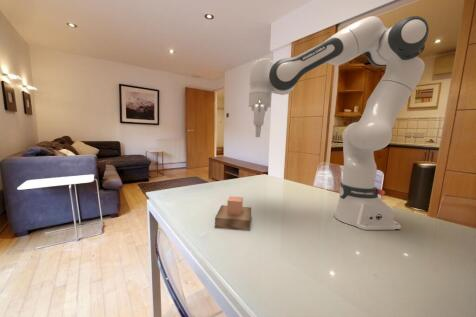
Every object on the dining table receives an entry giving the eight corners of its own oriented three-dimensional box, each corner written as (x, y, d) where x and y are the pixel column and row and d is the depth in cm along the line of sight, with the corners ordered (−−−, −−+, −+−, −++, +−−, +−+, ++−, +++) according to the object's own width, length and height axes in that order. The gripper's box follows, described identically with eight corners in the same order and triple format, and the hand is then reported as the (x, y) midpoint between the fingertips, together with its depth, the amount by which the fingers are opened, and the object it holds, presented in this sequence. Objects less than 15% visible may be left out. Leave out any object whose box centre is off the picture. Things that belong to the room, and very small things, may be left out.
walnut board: (250, 217, 82) (251, 207, 81) (249, 231, 70) (250, 220, 69) (221, 214, 83) (221, 205, 82) (214, 228, 71) (215, 217, 70)
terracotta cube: (242, 209, 78) (242, 197, 78) (240, 215, 73) (241, 201, 73) (229, 208, 79) (229, 196, 78) (227, 214, 74) (227, 200, 73)
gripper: (268, 98, 72) (266, 138, 74) (266, 105, 92) (264, 136, 94) (250, 97, 73) (248, 137, 74) (252, 105, 93) (251, 136, 95)
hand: (257, 136), depth 84 cm, fingers open, 8 cm apart
